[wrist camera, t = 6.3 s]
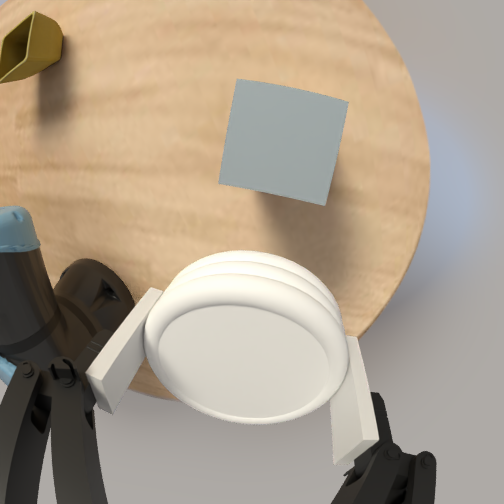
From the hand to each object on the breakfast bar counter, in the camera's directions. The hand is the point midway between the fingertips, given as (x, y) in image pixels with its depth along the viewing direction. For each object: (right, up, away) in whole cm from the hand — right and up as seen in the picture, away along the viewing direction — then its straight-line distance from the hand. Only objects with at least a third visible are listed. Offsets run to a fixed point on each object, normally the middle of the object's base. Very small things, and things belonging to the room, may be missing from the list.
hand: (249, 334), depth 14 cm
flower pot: (-31, +36, +10) cm, 49 cm away
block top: (+3, +14, +8) cm, 16 cm away
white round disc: (0, 0, +1) cm, 1 cm away
